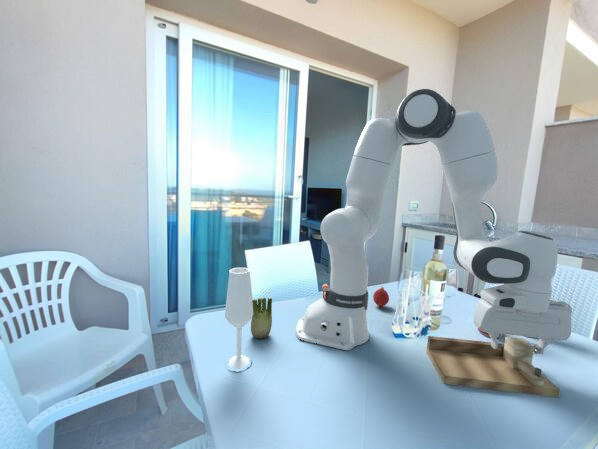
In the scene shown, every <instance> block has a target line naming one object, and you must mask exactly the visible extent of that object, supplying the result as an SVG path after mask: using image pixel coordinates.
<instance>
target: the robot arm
mask: <svg viewBox="0 0 598 449" xmlns="http://www.w3.org/2000/svg"><path fill="white" fill-rule="evenodd" d="M456 111H457V110H456V108H455V107H454V106H453V105H452V104H451V103H450V102H448V101H447V100H446V99H445V98H444V97H443V96H442V95H441V94H439V93H438V92H437V91H435V90H433V89H429V88H421V89H416V90H414V91H412V92H410V93H409V94H408V95H406V96H405V97H404V98H403V99H402V101H401V102H400V103H399V106H398V107H397V111H396V112H395V113H396V114H395V115H394V116H393V117H390V118H389V117H388V118H386V117H375V118H373V119H371V120H369V121H368V122H367V123H366V124H365V126H364V128H363V130H362V131H361V133H360V137H359V139H358V140H357V144H356V146H355V149H354V152H353V155H352V159H351V162H350V165H349V169H348V173H347V175H346V178H345V187H346V204H345V206H344V207H343V208H342V207H341V208H337V209H335V210H333V211H331V212H330V213H328V214H327V215H325V216H324V218H322V221H321V224H320V226H319V227H320V235H321V237H322V239H323V241H324V242H325V243H326V245H327V249H328V253H329V259H330V278H329V279H330V283H329V285H328V284H327V283H324V284H322V286H321V287H322V288H321V289H322V298H319V299H318V300H316V301H314V302H313V303H311V304H309V306H308V307H307V309H306V310H305V313H304V315H303V316H302V317H300V318H299V319H298V321H297V323H296V327H295V335H296V337H297V338H298V340H300V339H301V340H300V341H303V340H304V342H308V343H312V344H316V343H317V345H321V346H326V347H331V348H334V349H335V348H336V349H339V350H344V351H351V350H352V349H354V348H355V347H356V346H359V345H363V344H364V343H366V342H368V340H369V339H370V333H369V329H368V327H369V326H368V321H367V310H368V307H369V290H368V282H369V281H368V280H369V267H370V266H369V263H368V262H367V260H366V254H365V243H366V241H369V240H370V239H372V238H373V237H374V235H376V233H378V232H377V231H378V230H379V227H380V217H381V216H380V215H381V211H382V205H383V198H384V193H385V190H386V188H387V184H388V181H389V178H390V175H391V173H392V169H393V168H394V167H393V166H394V164H395V160H396V157H397V155H398V152H399V150H400V149H401V147H404V146H414V145H415V146H416V145H417V146H418V145H423V144H426V143H428V142H430V143H432V144H434V145H435V146H436V148H437V151H438V153H439V155H440V156H439V157H440V161H441V166H442V171H443V175H444V178H445V182H446V186H447V189H448V191H449V196H450V199H451V205H452V211H453V216H454V224H455V231H456V232H455V233H456V238H455V239H456V240H455V243H454V247H453V252H452V253H453V259H454V261H455V262H456V264H457V265H458V267H460V268H462V269H463V270H465V271H467V272H469V273H470V274H471V275H472V276H474V277H475V278H477V280H479V281H482V282H484V283H488V284H492V285H493V284H496V286H493V287H491V286H490V287H486V288H482V289H481V291H480V297H481V298H480V300H478V302H476V307H475V309H474V315H473V324H474V325H475V327H476V328H478V329H480V330H481V331H482V332H488V334H489V336H490V337H489V338H490V339H491V346H492V347H493V348H494V349H499V350H501V347H502V344H503V343H502V342H501V341H500V340H499V339H498V338H500V337H499V334H503V335H506V336H507V335H509V336H517V337H518V336H519V337H525V336H526V338H530V337H535V338H538V341H537V342H536V343H532V344H531V345H532V346H533V347H534V352H533V354H536V355H544V351H545V348H547V347H548V346H549V345H551V343H552V340H557V341H567V340H569V339H570V338H571V334H572V312H573V307H572V306H571V305H570V304H569V303H567V302H566V301H563V300H553V299H552V298H551V297H552V292H553V287H552V280H553V278H554V277H555V275H556V271H557V264H558V263H557V262H558V254H559V252H558V244H557V242H556V240H554V238H551V237H549V236H546V235H544V234H538V233H535V232H531V231H526V230H517V231H515V232H514V233H513V234H511V235H508V236H506V237H504V238H500V239H496V240H491V241H490V240H489V238H488V237H487V236H486V235H485V232H484V226H483V219H482V213H481V212H482V210H481V202H482V199H483V197H484V196H485V194H486V193H487V192H488V191H489V190H490V189H491V188H492V187H493V186H494V184H495V183H496V181H497V179H498V170H499V169H498V159H497V154H496V153H497V152H496V150H495V146H494V145H495V144H494V142H493V141H494V140H493V138H492V134H491V132H490V128H489V127H488V124H487V122H486V120H485V117H484V116H483V115H482V114H481V113H479V112H478V111H474V110H463V111H459V112H456ZM498 284H500V285H498ZM482 298H483V299H482ZM551 299H552V300H551ZM478 329H477V330H478ZM496 337H498V338H496Z"/></svg>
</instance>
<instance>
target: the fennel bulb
mask: <svg viewBox="0 0 598 449" xmlns="http://www.w3.org/2000/svg"><path fill="white" fill-rule="evenodd" d="M252 304H253V316H252V318H251V320H250V321H251V322H250V333H251V335H252V337H254V338H255V339H266V338H268V336H269V335H270V333H271V329H272V326H273V324H272V323H273V316H272V314H273V311H272V308H273V307H272V305H273V297H268V298H267V297H261V298H260V297H259V298H252ZM265 337H266V338H265Z"/></svg>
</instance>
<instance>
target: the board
mask: <svg viewBox="0 0 598 449" xmlns="http://www.w3.org/2000/svg"><path fill="white" fill-rule="evenodd" d="M491 342H492V341H491ZM491 342H490V341H483V340H482V341H481V340H473V339H461V338H455V337H454V338H453V337H452V338H451V337H441V336H435V335H427V344H426V355H427V356H428V358H429V359H430V362H431V363H432V365H433V367H434V369H435V371H436V372H437V374H438V376H439V378H440V379H441V381H442V384H444V385H445V384H446V385H453V386H461V387H470V388H475V389H476V388H477V389H484V390H485V389H486V390H493V391H503V392H509V393H517V394H525V395H531V396H532V395H533V396H534V395H536V396H542V397H550V398H558V399H559V397H560V392H561V391H560V390H561V389H560V388H559V387H558V386H557V385H556V384H554V383H553V382H552V381H551V380H550V379H549V378H547V377H546V375H544V374H543V373H542V372H541V375H542V376H543V377H544V378H545V379H544V385H543V386H538V385H533V384H532V383H531V382H530V381H529V380H528V379H527V378H526V377H525V376H524V375H523V374H522V373H521V372H520V371H519V370H518V369H513V368H512V367H511V366H510V365H509V364H508V363H507V362H506V361H505V360H504V359H503V351H504V344H505V343H502V347H501V350H499V349H494V348H493V347H492V346H491ZM531 366H532V367H533V368H534V369H535V368H536V367H535V366H534V364H531Z"/></svg>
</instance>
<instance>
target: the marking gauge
mask: <svg viewBox="0 0 598 449" xmlns="http://www.w3.org/2000/svg"><path fill="white" fill-rule="evenodd" d="M503 344H504V351H503V359H504V360H505V361H506V362H507V363H508V364H509V365H510V366H511V367H512V368H513V369H518V370H519V371H520V372H521V373H522V374H523V375H524V376H525V377H526V378H527V379H528V380H529V381H530V382H531V383H532V384H533V385H538V386H543V385H544V379H545V378H544V377H543V376H542V375H541V373H542V369H541V368H539V367H535V369H534V368H533V367H532V366H531V364H532V363H533V358H534V347H533V346H532V344H530V343H529V342H528V341H526V340H525V339H524V338H521V337H511V336H505V339H504V343H503ZM532 365H533V364H532Z"/></svg>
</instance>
